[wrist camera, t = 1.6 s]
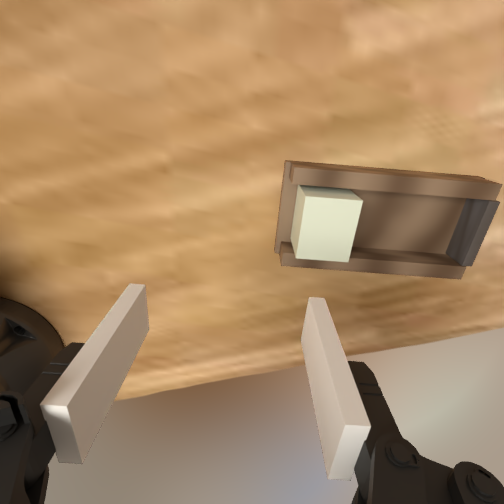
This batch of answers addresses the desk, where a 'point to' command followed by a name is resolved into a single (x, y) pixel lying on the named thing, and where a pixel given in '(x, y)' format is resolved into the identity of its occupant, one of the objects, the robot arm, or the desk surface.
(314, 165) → the chute
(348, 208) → the block
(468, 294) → the desk surface
